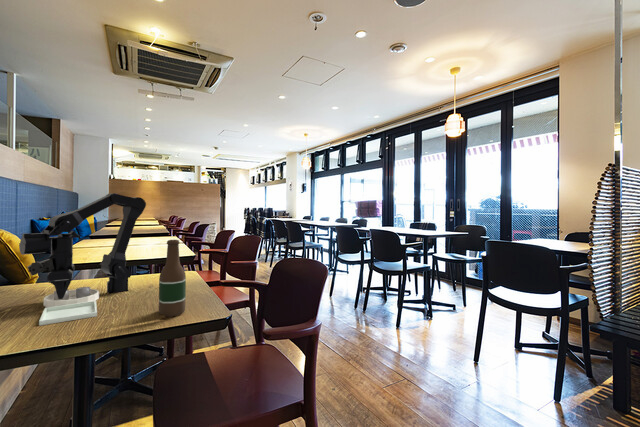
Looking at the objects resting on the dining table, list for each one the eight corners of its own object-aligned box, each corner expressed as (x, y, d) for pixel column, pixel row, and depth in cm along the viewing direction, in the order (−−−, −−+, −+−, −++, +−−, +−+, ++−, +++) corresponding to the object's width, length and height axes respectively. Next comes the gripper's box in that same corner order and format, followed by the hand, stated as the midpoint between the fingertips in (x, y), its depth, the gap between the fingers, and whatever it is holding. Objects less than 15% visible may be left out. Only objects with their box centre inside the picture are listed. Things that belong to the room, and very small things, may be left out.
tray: (96, 306, 103) (96, 300, 103) (97, 318, 92) (97, 312, 92) (44, 314, 95) (44, 307, 95) (39, 328, 84) (39, 321, 84)
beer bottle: (158, 319, 92) (159, 241, 92) (158, 311, 99) (159, 239, 99) (186, 315, 96) (187, 240, 95) (184, 308, 102) (185, 238, 102)
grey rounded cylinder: (90, 297, 111) (90, 286, 111) (90, 299, 108) (90, 288, 107) (76, 298, 108) (76, 287, 108) (75, 301, 105) (75, 290, 105)
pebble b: (69, 299, 107) (69, 288, 107) (68, 302, 104) (68, 291, 104) (54, 301, 105) (54, 290, 105) (53, 304, 101) (53, 292, 101)
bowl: (98, 294, 117) (98, 287, 117) (99, 304, 105) (99, 296, 105) (46, 301, 107) (46, 292, 107) (41, 313, 96) (41, 303, 96)
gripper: (34, 249, 107) (33, 293, 107) (25, 256, 92) (25, 307, 92) (74, 247, 113) (74, 288, 114) (72, 254, 99) (71, 301, 99)
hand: (61, 295), depth 104 cm, fingers open, 9 cm apart
